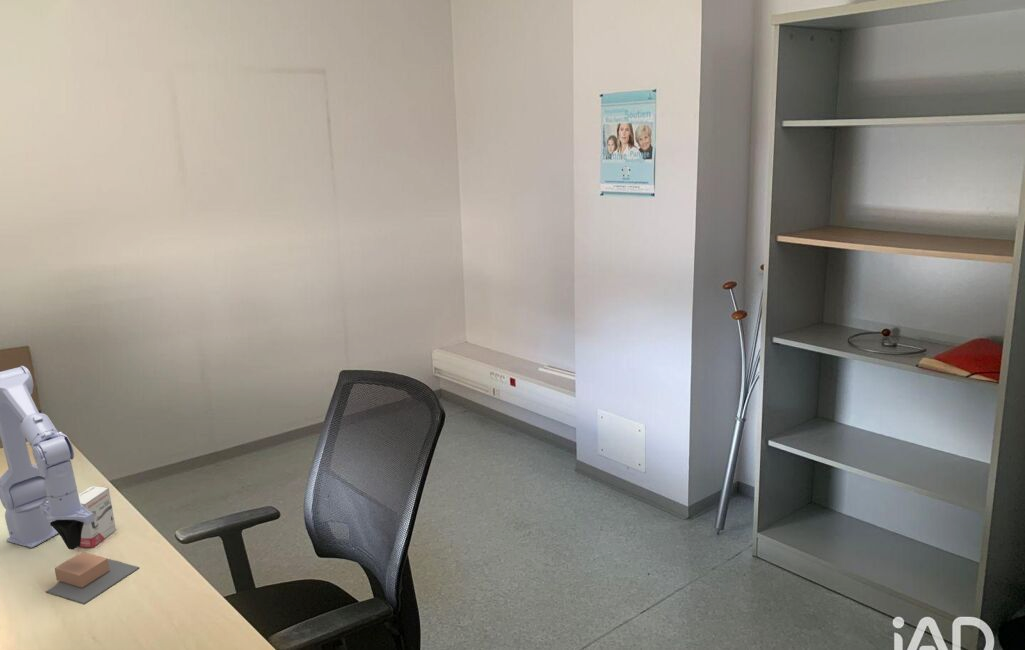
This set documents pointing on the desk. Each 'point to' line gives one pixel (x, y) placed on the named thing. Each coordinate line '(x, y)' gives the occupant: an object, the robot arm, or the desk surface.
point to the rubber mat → (94, 583)
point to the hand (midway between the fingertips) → (74, 547)
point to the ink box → (97, 515)
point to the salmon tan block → (82, 569)
